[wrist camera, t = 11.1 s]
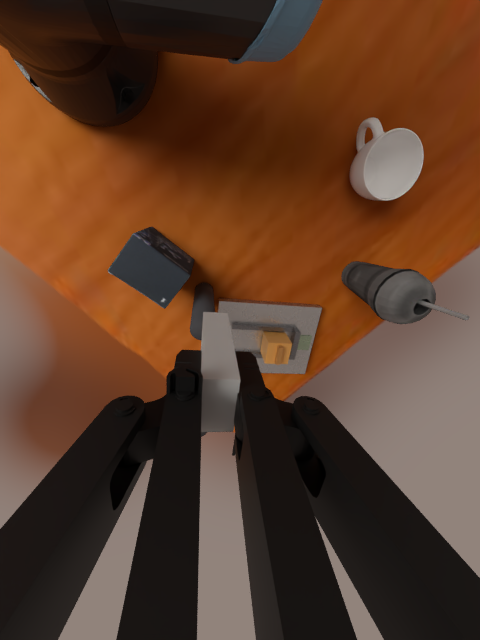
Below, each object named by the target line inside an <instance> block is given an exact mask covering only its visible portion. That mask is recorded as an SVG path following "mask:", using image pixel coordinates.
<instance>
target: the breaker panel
mask: <svg viewBox="0 0 480 640" xmlns="http://www.w3.org/2000/svg"><path fill="white" fill-rule="evenodd" d="M321 310H322V307H321V306H320V305H314V304H300V303H285V302H270V301H256V300H241V299H226V298H219V302H218V313H228V317H229V322H230V328H231V333H232V338H233V343H234V349H235V351H245V352H251V353H252V354H253V355H254V356H255V357H256V359H257V363H258V366H259V370H260V372H261V373H290V374H305V371H306V367H307V364H308V360H309V356H310V352H311V348H312V345H313V341H314V337H315V333H316V329H317V326H318V322H319V318H320V314H321ZM263 332H284V333H286V334H287V336H288V338H289V339H290V341H291V343H292V347H291V352H290V356H289V360H288V364H280V365H276V364H265V363H264V360H263V357H262V354H261V352H260V350H261V344H262V338H263Z"/></svg>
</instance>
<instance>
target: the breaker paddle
mask: <svg viewBox="0 0 480 640" xmlns="http://www.w3.org/2000/svg"><path fill="white" fill-rule="evenodd" d="M291 347H292V343H291V341H290V339H289V338H288V336H287V334H286V333H284V332H263V338H262V344H261V350H260V352H261V354H262V357H263V360H264V363H265V364H276V365H280V364H288V360H289V356H290V352H291Z"/></svg>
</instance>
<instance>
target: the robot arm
mask: <svg viewBox="0 0 480 640" xmlns="http://www.w3.org/2000/svg"><path fill="white" fill-rule="evenodd" d="M322 1H323V0H0V45H1V46H3V47H4V48H5V49H7V50H8V51H9V53H10V55H11V56H12V58H13V59H14V61H15V63H16V64H17V66H18V67H19V69H20V70H21V72H22V73H23V75H24V76H25V77H26V79H27V80H28V81H29V82H30V84H31V85H32V86H33V87H34V88H35V89H36V90H37V91H38V92H39V93H40V94H41V95H42V96H43V97H44V98H45V99H46V100H47V101H48V102H50V103H51V104H52V105H53V106H55V107H56V108H58V109H59V110H61V111H62V112H64V113H65V114H67V115H69V116H70V117H72V118H74V119H76V120H78V121H80V122H83V123H86V124H89V125H94V126H102V127H107V126H115V125H119V124H122V123H124V122H127V121H128V120H130V119H132V118H133V117H134V116H136V115H137V114H138V113H139V112H140V111H141V110H142V109H143V107H144V106H145V104H146V103H147V101H148V100H149V98H150V96H151V93H152V91H153V88H154V84H155V80H156V75H157V66H158V53H157V51H162V52H170V53H179V54H188V55H197V56H206V57H215V58H224V59H228V60H229V62H230V63H233V64H239V63H242V62H244V61H260V62H275V61H279V60H281V59H283V58H284V57H285V56H286V55H287V54H288V53H291V52H292V51H293V50H294V49H295V48H296V47H297V45H298V44H299V43H300V42H301V40H302V39H303V37H304V36H305V34H306V32H307V31H308V29H309V27H310V26H311V24H312V22H313V20H314V18H315V16H316V14H317V12H318V10H319V8H320V5H321V3H322ZM234 425H235V440H234V446H233V453H232V455H236V463H237V473H238V481H239V490H240V499H241V509H242V518H243V526H244V536H245V545H246V554H247V562H248V572H249V581H250V589H251V598H252V607H253V616H254V625H255V634H256V640H357V638H356V635H355V632H354V629H353V626H352V623H351V621H350V617H349V614H348V612H347V609H346V606H345V603H344V600H343V597H342V594H341V591H340V588H339V585H338V582H337V579H336V577H335V574H334V571H333V568H332V565H331V562H330V559H329V556H328V553H327V551H326V547H325V545H324V542H323V539H322V536H321V533H320V530H319V527H318V524H317V521H316V519H317V520H318V522H319V524H320V526H321V527H322V529H323V531H324V533H325V535H326V536H327V538H328V540H329V542H330V543H331V545H332V547H333V549H334V550H335V553H336V554H337V556H338V558H339V559H340V561H341V563H342V565H343V567H344V568H345V570H346V572H347V574H348V576H349V578H350V579H351V581H352V583H353V585H354V587H355V588H356V590H357V592H358V594H359V595H360V597H361V599H362V601H363V603H364V604H365V606H366V608H367V610H368V612H369V613H370V615H371V617H372V619H373V620H374V622H375V624H376V626H377V627H378V629H379V631H380V633H381V635H382V637H383V638H384V640H480V578H479V577H478V576H477V575H476V573H475V572H474V571H473V570H472V569H471V568H470V567H469V566H468V564H467V563H466V562H465V561H464V560H463V559H462V558H461V557H460V556H459V554H458V553H457V552H456V551H455V550H454V549H453V548H452V547H451V546H450V544H449V543H448V542H447V541H446V540H445V539H444V538H443V537H442V536H441V534H440V533H439V532H438V531H437V530H436V529H435V528H434V527H433V526H432V524H431V523H430V522H429V521H428V520H427V519H426V518H425V517H424V515H423V514H422V513H421V512H420V511H419V510H418V509H417V508H416V507H415V505H414V504H413V503H412V502H411V501H410V500H409V499H408V498H407V496H405V494H404V493H403V492H402V491H401V490H400V489H399V488H398V486H397V485H396V484H395V483H394V482H393V481H392V480H391V479H390V478H389V476H388V475H387V474H386V473H385V472H384V471H383V470H382V469H381V468H380V467H379V465H378V464H377V463H376V462H375V461H374V460H373V459H372V458H371V456H370V455H369V454H368V453H367V452H366V451H365V450H364V449H363V447H362V446H361V445H360V444H359V443H358V442H357V441H356V440H355V439H354V438H353V436H352V435H351V434H350V433H349V432H348V431H347V430H346V429H345V428H344V426H343V425H342V424H341V423H340V422H339V421H338V420H337V418H335V416H334V415H333V414H332V413H331V412H330V411H329V410H328V408H327V407H326V406H325V405H324V404H323V403H321V402H320V401H319V400H317V399H315V398H312V397H308V396H301V397H298V398H296V399H295V401H294V403H293V404H292V403H288V402H284V401H281V400H278V399H276V398H274V396H273V394H272V392H271V391H270V390H269V389H267V388H266V387H265V384H264V381H263V378H262V375H261V372H260V370H259V366H258V363H257V359H256V357H255V356H254V355H253V354H252V353H251V352H245V351H235V349H234V343H233V338H232V333H231V328H230V322H229V317H228V313H216V312H203V326H202V342H201V351H198V350H181V351H180V352H179V353H178V354H177V356H176V361H175V366H174V369H173V370H172V371H170V372H169V373H168V375H167V394H166V395H165V396H164V397H162V398H160V399H158V400H155V401H152V402H147V403H144V401H143V400H142V399H140V398H138V397H135V396H123V397H119V398H117V399H114V400H112V401H111V402H110V403H109V404H108V405H106V406H105V407H104V409H103V410H102V411H101V412H100V413H99V415H98V416H97V417H96V418H95V419H94V420H93V422H92V423H91V424H90V425H89V426H88V427H87V429H86V430H85V431H84V432H83V433H82V434H81V436H80V437H79V438H78V439H77V440H76V441H75V443H74V444H73V445H72V446H71V447H70V448H69V450H68V451H67V452H66V453H65V454H64V455H63V457H62V458H61V459H60V460H59V461H58V462H57V464H56V465H55V466H54V467H53V468H52V470H51V471H50V472H49V473H48V474H47V475H46V476H45V478H44V479H43V480H42V481H41V482H40V484H39V485H38V486H37V487H36V488H35V489H34V491H33V492H32V493H31V494H30V495H29V496H28V497H27V499H26V500H25V501H24V502H23V503H22V505H21V506H20V507H19V508H18V509H17V510H16V512H15V513H14V514H13V515H12V516H11V517H10V519H9V520H8V521H7V522H6V523H5V524H4V526H3V527H2V528H1V529H0V640H58V638H59V636H60V634H61V632H62V630H63V628H64V626H65V624H66V622H67V620H68V618H69V616H70V614H71V612H72V610H73V608H74V606H75V604H76V602H77V600H78V598H79V596H80V594H81V592H82V590H83V588H84V586H85V584H86V582H87V580H88V578H89V576H90V574H91V572H92V570H93V568H94V566H95V564H96V562H97V560H98V558H99V556H100V554H101V552H102V550H103V548H104V546H105V544H106V542H107V540H108V538H109V536H110V534H111V533H112V531H113V528H114V527H115V525H116V523H117V520H118V519H119V517H120V514H121V513H122V511H123V509H124V507H125V505H126V503H127V501H128V499H129V497H130V495H131V492H132V491H133V489H134V486H135V484H136V483H137V481H138V478H139V476H140V475H141V473H142V471H143V469H144V466H145V464H146V461H147V460H150V459H153V464H152V468H151V473H150V479H149V483H148V488H147V493H146V498H145V503H144V508H143V512H142V517H141V522H140V527H139V532H138V537H137V542H136V547H135V551H134V556H133V561H132V566H131V571H130V576H129V581H128V586H127V591H126V595H125V601H124V605H123V610H122V615H121V620H120V625H119V630H118V635H117V639H116V640H197V603H198V556H199V554H198V553H199V507H200V460H201V432H233V430H234ZM315 517H316V518H315Z"/></svg>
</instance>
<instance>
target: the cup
mask: <svg viewBox="0 0 480 640" xmlns="http://www.w3.org/2000/svg"><path fill="white" fill-rule="evenodd" d="M367 127H369V128H371V130H372V133H373V138H372V139H371V140H370V141H369V142H367V143H366V144H365V133H366V129H367ZM356 147H357V151H358V153H357V154H356V156H355V158H354V159H353V161H352V164H351V167H350V172H349V178H350V183H351V185H352V187H353V189H354V190H355V191H356V192H357V193H358V194H359V195H360V196H362V197H364V198H366V199H369V200H375V201H389V200H394V199H396V198H399V197H400V196H402V195H404V194H405V193H406V192H407V191H408V190H409V189H410V188H411V187H412V186H413V185H414V183H415V182H416V180H417V178H418V177H419V174H420V172H421V169H422V165H423V159H424V152H423V146H422V143H421V141H420V139H419V137H418V136H417V135H416V134H415V133H414V132H413V131H411V130H409V129H406V128H396V129H393V130H390V131H387V132H384V131H383V128H382V125H381V123H380V121H379V120H378V119H377V118H375V117H370V118H367V119H366V120H364V121H363V122H362V123H361V124H360V126H359V128H358V131H357V137H356Z"/></svg>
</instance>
